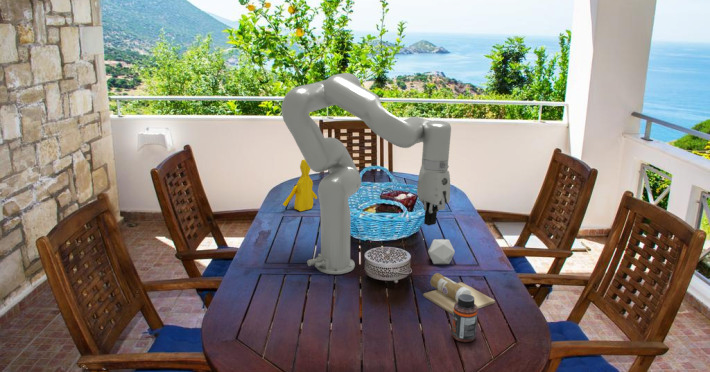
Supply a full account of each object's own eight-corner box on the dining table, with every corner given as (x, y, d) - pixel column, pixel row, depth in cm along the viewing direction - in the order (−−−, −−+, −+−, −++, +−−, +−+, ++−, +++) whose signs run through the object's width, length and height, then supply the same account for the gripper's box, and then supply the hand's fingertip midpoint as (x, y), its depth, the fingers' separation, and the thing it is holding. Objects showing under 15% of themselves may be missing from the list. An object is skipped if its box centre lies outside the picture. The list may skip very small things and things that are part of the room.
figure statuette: (314, 203, 252) (314, 154, 246) (325, 207, 246) (325, 157, 240) (280, 211, 241) (278, 160, 234) (290, 216, 235) (289, 164, 229)
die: (447, 271, 187) (462, 246, 188) (424, 257, 187) (439, 232, 188) (442, 270, 195) (457, 246, 196) (421, 256, 195) (435, 232, 196)
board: (455, 316, 158) (455, 313, 158) (423, 296, 169) (423, 293, 169) (494, 302, 166) (495, 300, 165) (461, 284, 177) (461, 281, 177)
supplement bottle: (449, 331, 150) (451, 291, 147) (471, 330, 151) (474, 291, 148) (454, 343, 145) (457, 303, 141) (478, 342, 145) (481, 302, 142)
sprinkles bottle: (428, 277, 171) (458, 295, 160) (439, 269, 173) (469, 286, 162) (432, 289, 173) (461, 307, 162) (443, 281, 175) (473, 299, 164)
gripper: (462, 169, 162) (456, 230, 167) (428, 157, 174) (424, 214, 179) (441, 172, 158) (436, 234, 163) (408, 159, 170) (404, 218, 175)
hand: (429, 223), depth 171 cm, fingers closed
